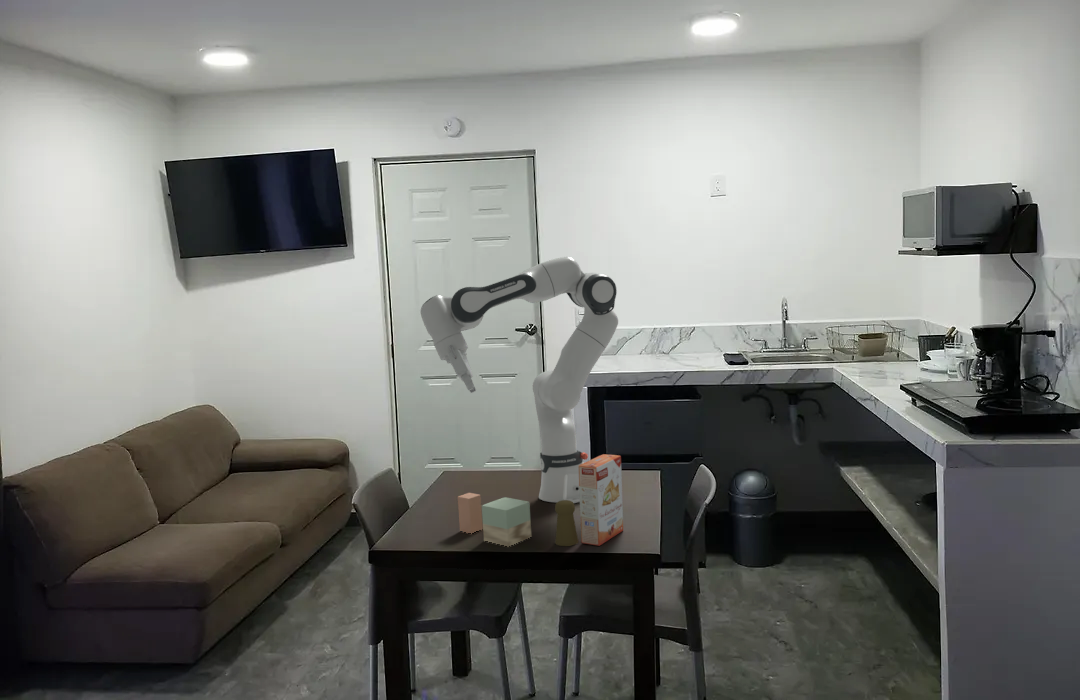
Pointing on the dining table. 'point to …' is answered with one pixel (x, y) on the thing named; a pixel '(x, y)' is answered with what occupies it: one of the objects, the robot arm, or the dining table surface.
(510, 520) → the green block
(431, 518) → the dining table surface
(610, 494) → the cracker box
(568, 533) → the cork
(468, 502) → the rust block
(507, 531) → the beech block
